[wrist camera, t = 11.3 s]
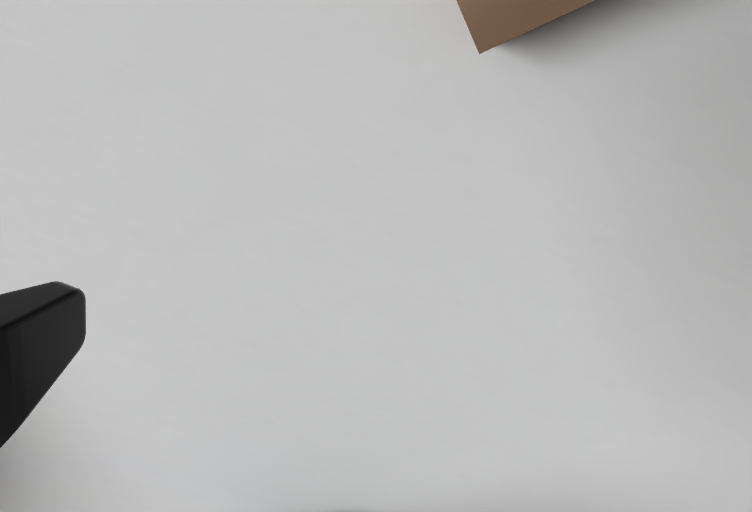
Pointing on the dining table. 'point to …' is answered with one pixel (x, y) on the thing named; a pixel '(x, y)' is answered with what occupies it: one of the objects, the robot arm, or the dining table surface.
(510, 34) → the walnut block
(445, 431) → the dining table surface
